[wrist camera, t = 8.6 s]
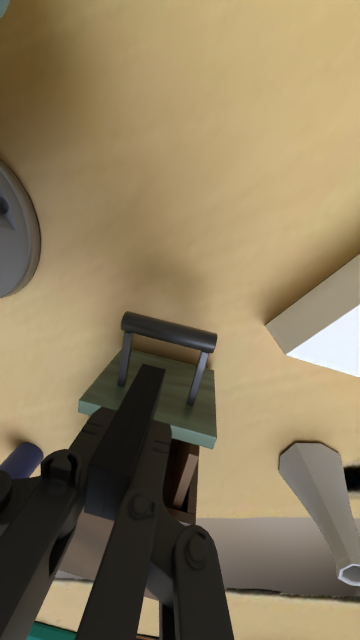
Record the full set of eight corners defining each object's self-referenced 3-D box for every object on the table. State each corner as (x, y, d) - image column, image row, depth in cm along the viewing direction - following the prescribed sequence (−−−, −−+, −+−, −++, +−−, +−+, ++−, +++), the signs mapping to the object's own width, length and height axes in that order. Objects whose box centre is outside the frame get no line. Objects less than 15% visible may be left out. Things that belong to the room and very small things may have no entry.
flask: (323, 488, 28) (380, 608, 19) (269, 473, 29) (298, 584, 19) (350, 449, 26) (430, 566, 16) (290, 433, 26) (335, 539, 17)
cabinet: (113, 400, 28) (60, 486, 18) (200, 424, 27) (195, 526, 17) (103, 470, 33) (57, 569, 23) (177, 492, 32) (164, 603, 22)
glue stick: (22, 437, 32) (-25, 486, 26) (47, 451, 33) (7, 503, 26) (14, 453, 34) (-32, 503, 27) (38, 467, 34) (-2, 519, 28)
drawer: (131, 290, 22) (83, 318, 13) (231, 315, 21) (246, 359, 13) (111, 429, 28) (71, 505, 20) (188, 450, 28) (179, 536, 20)
